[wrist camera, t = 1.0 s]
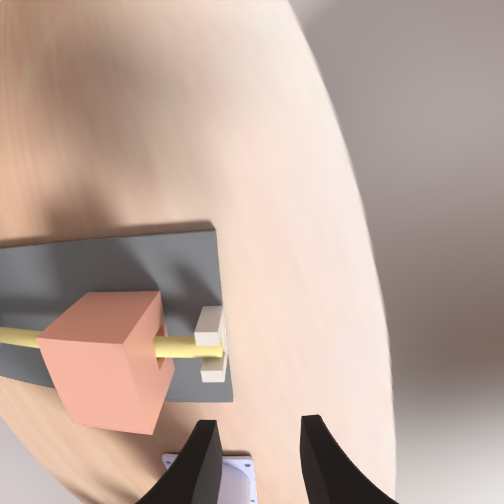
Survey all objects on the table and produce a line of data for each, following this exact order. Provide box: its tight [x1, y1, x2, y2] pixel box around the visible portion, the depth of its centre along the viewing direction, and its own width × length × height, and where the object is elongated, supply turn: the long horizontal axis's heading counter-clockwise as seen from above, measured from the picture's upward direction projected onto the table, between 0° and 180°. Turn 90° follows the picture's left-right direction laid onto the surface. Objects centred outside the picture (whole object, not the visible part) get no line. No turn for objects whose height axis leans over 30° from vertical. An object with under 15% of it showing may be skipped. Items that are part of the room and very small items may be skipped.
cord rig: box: [0, 230, 233, 402], centre depth 17 cm, size 12×25×4 cm, turn 93°
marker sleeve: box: [36, 291, 175, 435], centre depth 16 cm, size 6×5×6 cm
